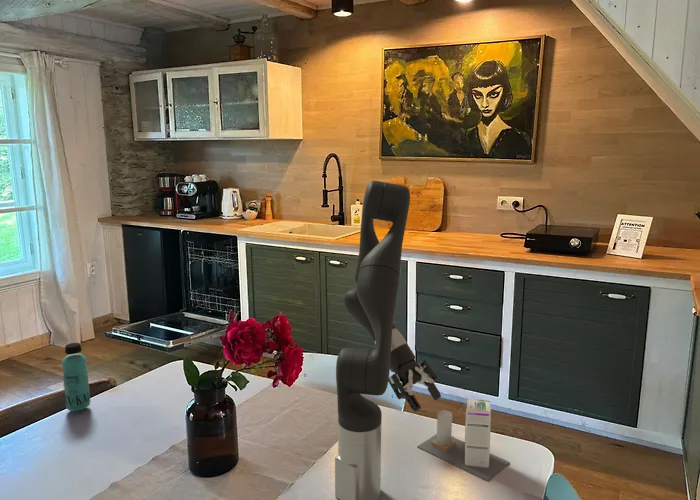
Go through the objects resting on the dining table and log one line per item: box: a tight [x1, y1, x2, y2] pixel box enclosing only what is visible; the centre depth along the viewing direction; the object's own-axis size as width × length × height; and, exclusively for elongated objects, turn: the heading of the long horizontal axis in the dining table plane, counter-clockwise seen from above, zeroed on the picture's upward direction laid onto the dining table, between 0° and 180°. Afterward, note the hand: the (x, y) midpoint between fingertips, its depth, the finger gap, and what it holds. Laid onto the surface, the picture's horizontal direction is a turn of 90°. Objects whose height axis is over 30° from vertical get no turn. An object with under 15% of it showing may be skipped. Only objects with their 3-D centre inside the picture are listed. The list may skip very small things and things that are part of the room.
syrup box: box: [464, 398, 492, 468], centre depth 130 cm, size 6×6×14 cm
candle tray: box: [416, 409, 510, 482], centre depth 133 cm, size 10×20×9 cm, turn 46°
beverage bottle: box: [61, 342, 91, 412], centre depth 154 cm, size 6×7×20 cm
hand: (428, 404), depth 140 cm, fingers open, 8 cm apart
